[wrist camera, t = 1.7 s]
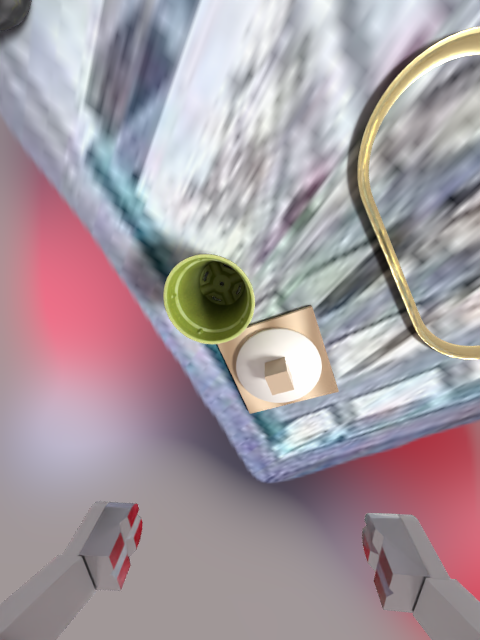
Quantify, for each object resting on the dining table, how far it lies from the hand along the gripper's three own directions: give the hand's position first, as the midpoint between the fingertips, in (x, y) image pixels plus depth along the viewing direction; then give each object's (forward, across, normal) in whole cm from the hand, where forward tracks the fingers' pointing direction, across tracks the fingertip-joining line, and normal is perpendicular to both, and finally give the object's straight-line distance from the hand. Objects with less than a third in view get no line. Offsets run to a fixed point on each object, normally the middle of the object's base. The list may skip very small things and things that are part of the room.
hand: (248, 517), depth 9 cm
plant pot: (+27, +4, -3) cm, 28 cm away
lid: (+26, -3, +9) cm, 28 cm away
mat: (+27, -3, +9) cm, 28 cm away
